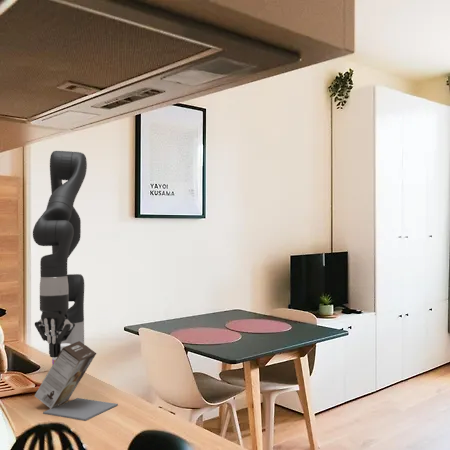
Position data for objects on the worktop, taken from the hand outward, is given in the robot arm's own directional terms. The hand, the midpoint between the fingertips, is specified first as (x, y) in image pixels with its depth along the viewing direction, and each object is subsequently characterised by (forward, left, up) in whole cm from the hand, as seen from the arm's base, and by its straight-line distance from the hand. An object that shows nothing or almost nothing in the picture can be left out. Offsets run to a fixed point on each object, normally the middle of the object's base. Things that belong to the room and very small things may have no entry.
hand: (54, 356), depth 144 cm
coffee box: (-2, 0, -12) cm, 12 cm away
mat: (+9, 0, -13) cm, 16 cm away
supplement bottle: (-11, +15, -13) cm, 23 cm away
